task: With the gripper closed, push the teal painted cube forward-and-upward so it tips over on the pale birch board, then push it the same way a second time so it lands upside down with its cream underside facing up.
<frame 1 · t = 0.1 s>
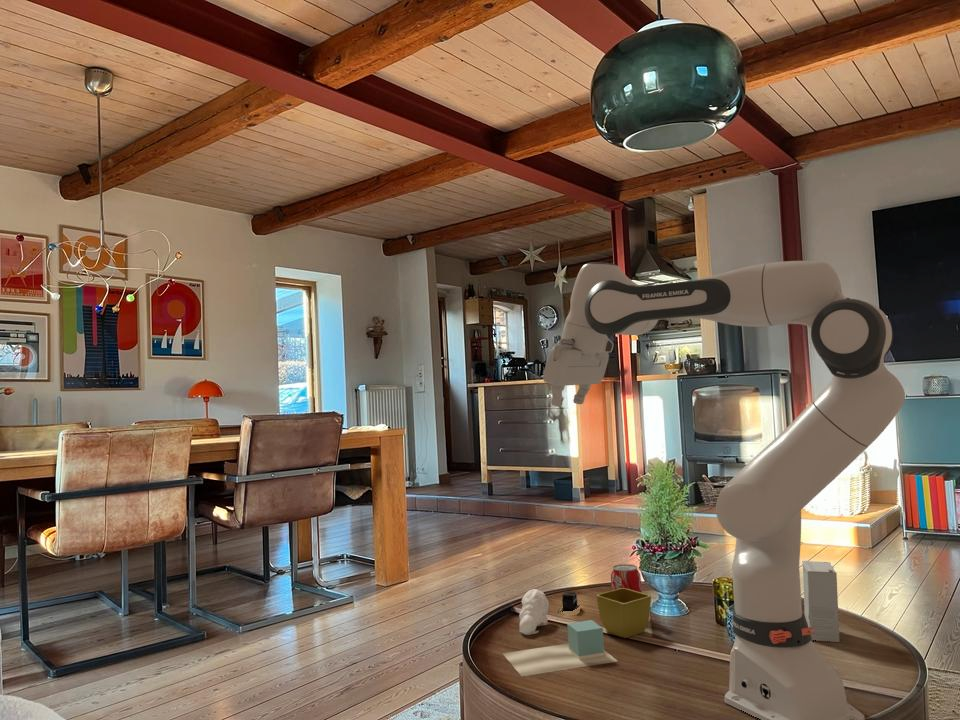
hand: (567, 404, 149), 52 cm above the table, tool tilted 20°, fingers open, 8 cm apart
teal block: (586, 652, 147), point 1 cm above the table, touching birch board
black upright block: (570, 612, 179), on the table
soda can: (628, 618, 170), on the table
skincare box: (822, 636, 152), on the table
birch board: (559, 662, 145), on the table
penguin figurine: (532, 632, 164), on the table
flower pot: (625, 637, 158), on the table
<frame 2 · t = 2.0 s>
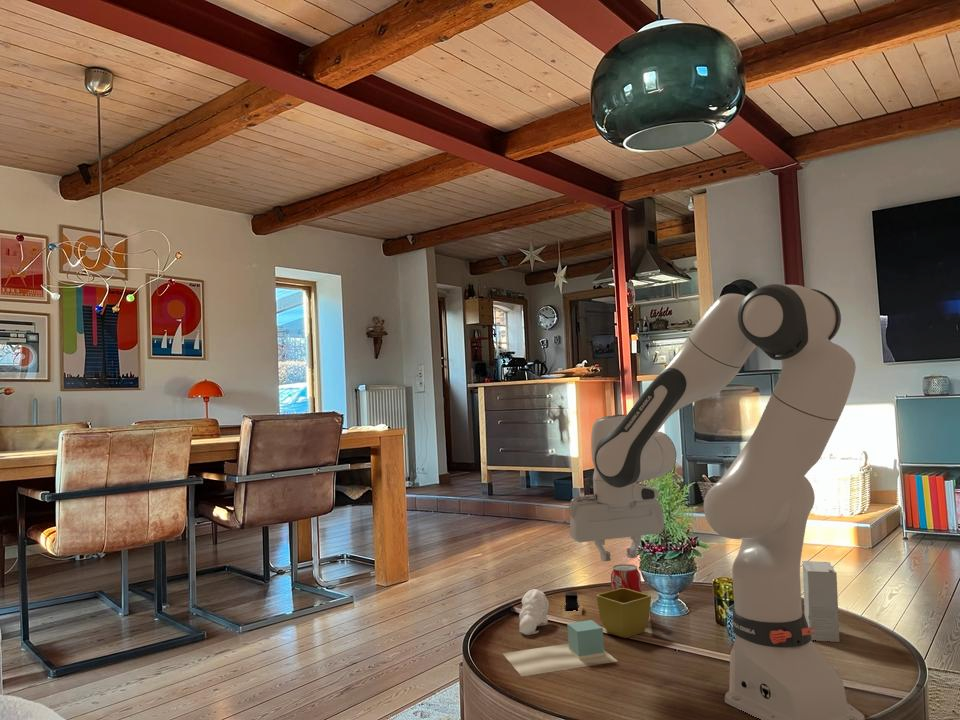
hand: (619, 559, 150), 19 cm above the table, tool pointing down, fingers open, 5 cm apart
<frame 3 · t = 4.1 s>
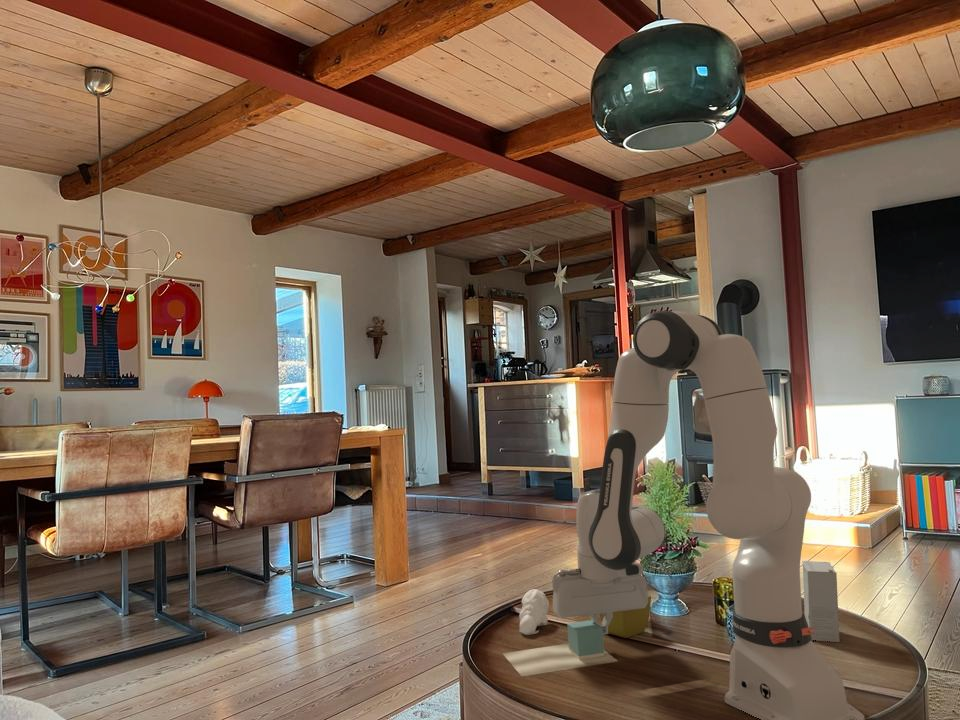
hand: (601, 633, 148), 4 cm above the table, tool pointing down, fingers closed
teal block: (586, 653, 147), point 1 cm above the table, touching birch board, gripper
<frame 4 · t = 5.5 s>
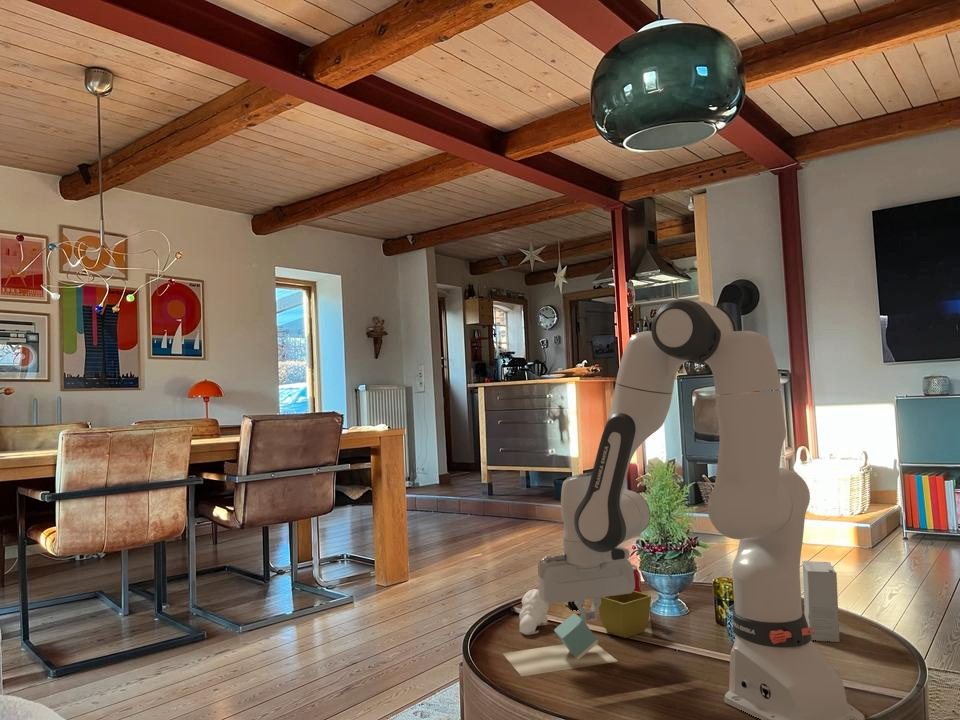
hand: (588, 619, 147), 8 cm above the table, tool pointing down, fingers closed
teal block: (583, 646, 146), point 3 cm above the table, tilted 33°, touching birch board, gripper
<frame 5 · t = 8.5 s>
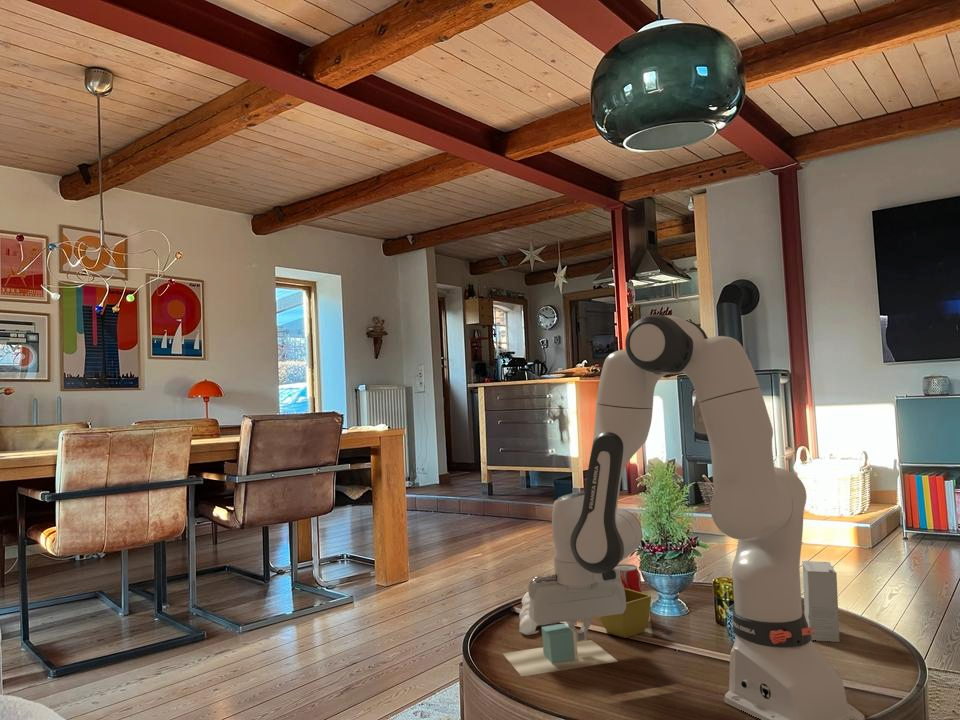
hand: (579, 640, 147), 4 cm above the table, tool pointing down, fingers closed
teal block: (572, 640, 146), point 4 cm above the table, tilted 92°, touching birch board, gripper
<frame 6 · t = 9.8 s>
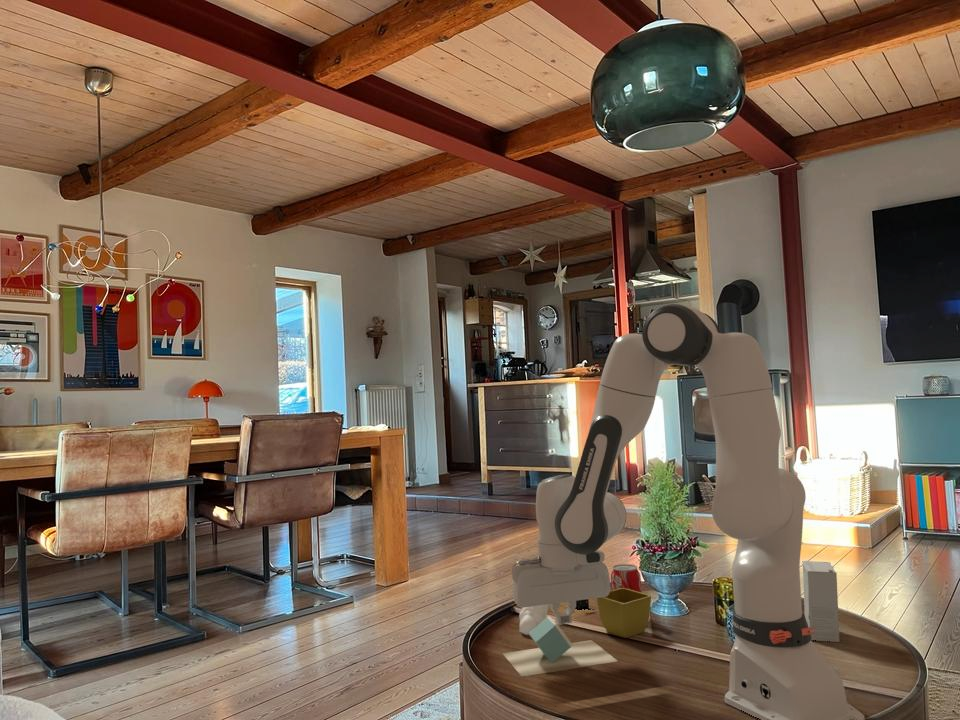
hand: (563, 623, 146), 8 cm above the table, tool pointing down, fingers closed
teal block: (560, 630, 145), point 6 cm above the table, tilted 123°, touching birch board, gripper
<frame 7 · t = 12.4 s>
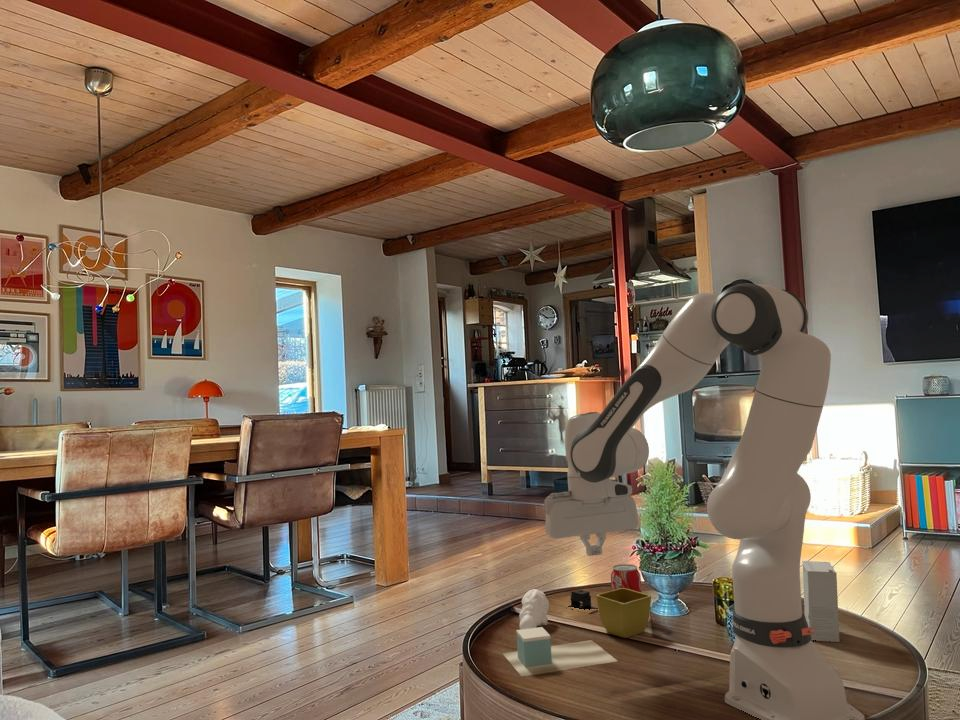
hand: (594, 554, 152), 20 cm above the table, tool pointing down, fingers closed
teal block: (533, 632, 144), point 6 cm above the table, tilted 180°, touching birch board
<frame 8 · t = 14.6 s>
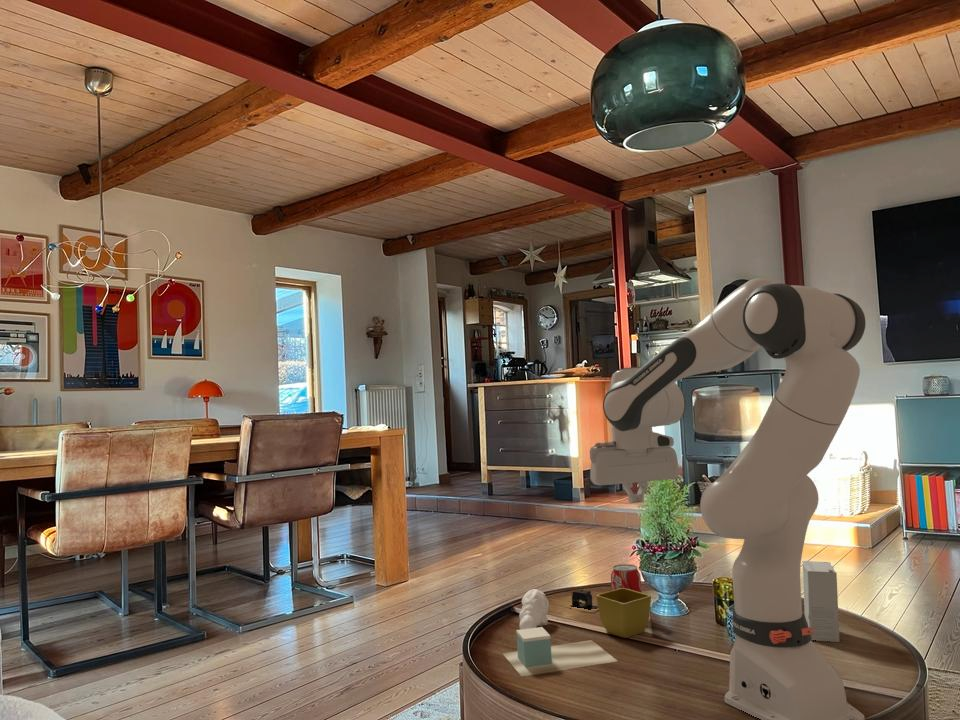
hand: (636, 502, 159), 29 cm above the table, tool pointing down, fingers closed
at the end: teal block tilted 180°; teal block inside the target area (1.4 cm from its centre), point 6.5 cm above the table; teal block moved 12.4 cm from its start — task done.
